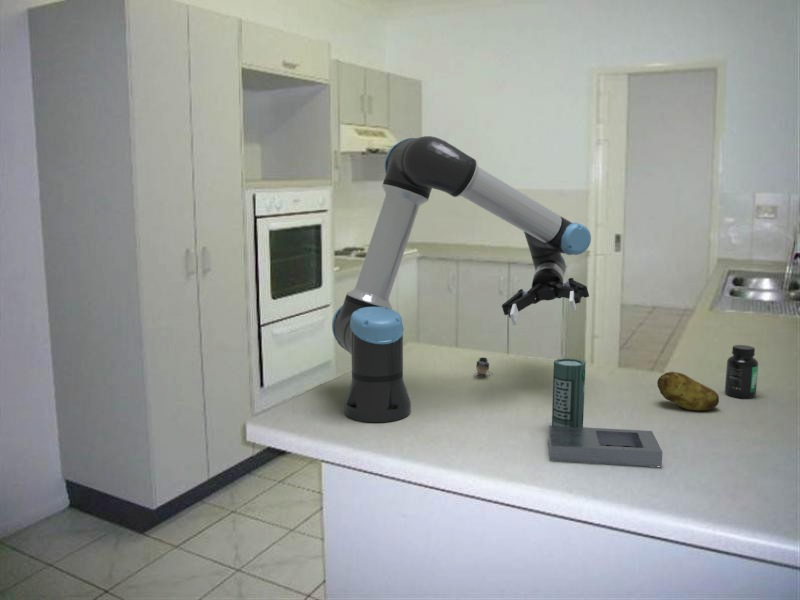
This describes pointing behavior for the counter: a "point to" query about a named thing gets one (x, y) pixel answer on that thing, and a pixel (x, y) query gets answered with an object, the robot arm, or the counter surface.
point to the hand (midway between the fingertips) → (542, 313)
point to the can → (568, 392)
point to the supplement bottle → (741, 373)
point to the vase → (482, 367)
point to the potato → (687, 392)
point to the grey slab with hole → (587, 449)
